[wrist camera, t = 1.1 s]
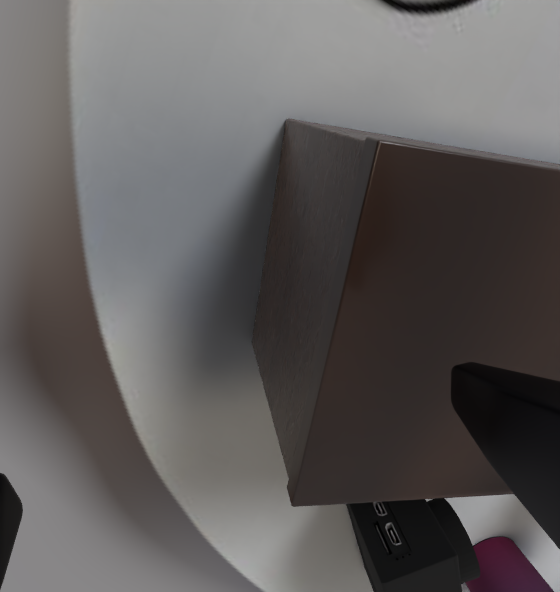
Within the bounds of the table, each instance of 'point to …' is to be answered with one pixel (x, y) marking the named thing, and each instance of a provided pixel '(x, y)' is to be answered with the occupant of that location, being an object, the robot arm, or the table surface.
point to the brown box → (399, 307)
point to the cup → (505, 569)
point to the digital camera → (413, 545)
